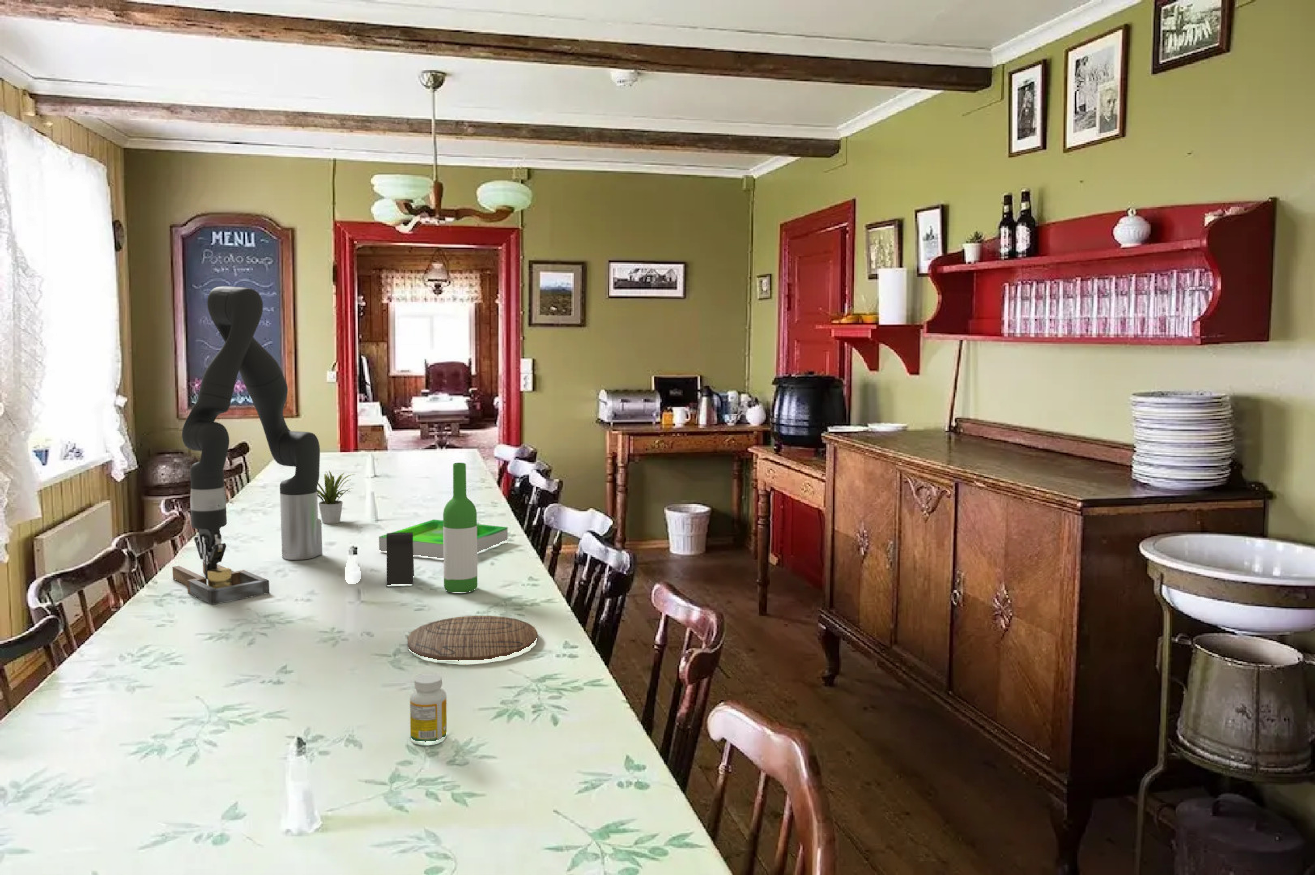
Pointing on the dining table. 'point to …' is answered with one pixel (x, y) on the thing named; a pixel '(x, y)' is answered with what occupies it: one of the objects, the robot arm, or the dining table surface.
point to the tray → (431, 538)
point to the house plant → (331, 499)
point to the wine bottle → (460, 537)
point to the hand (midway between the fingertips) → (211, 579)
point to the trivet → (471, 638)
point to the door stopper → (400, 558)
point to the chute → (241, 587)
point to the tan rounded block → (219, 578)
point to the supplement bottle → (428, 709)
